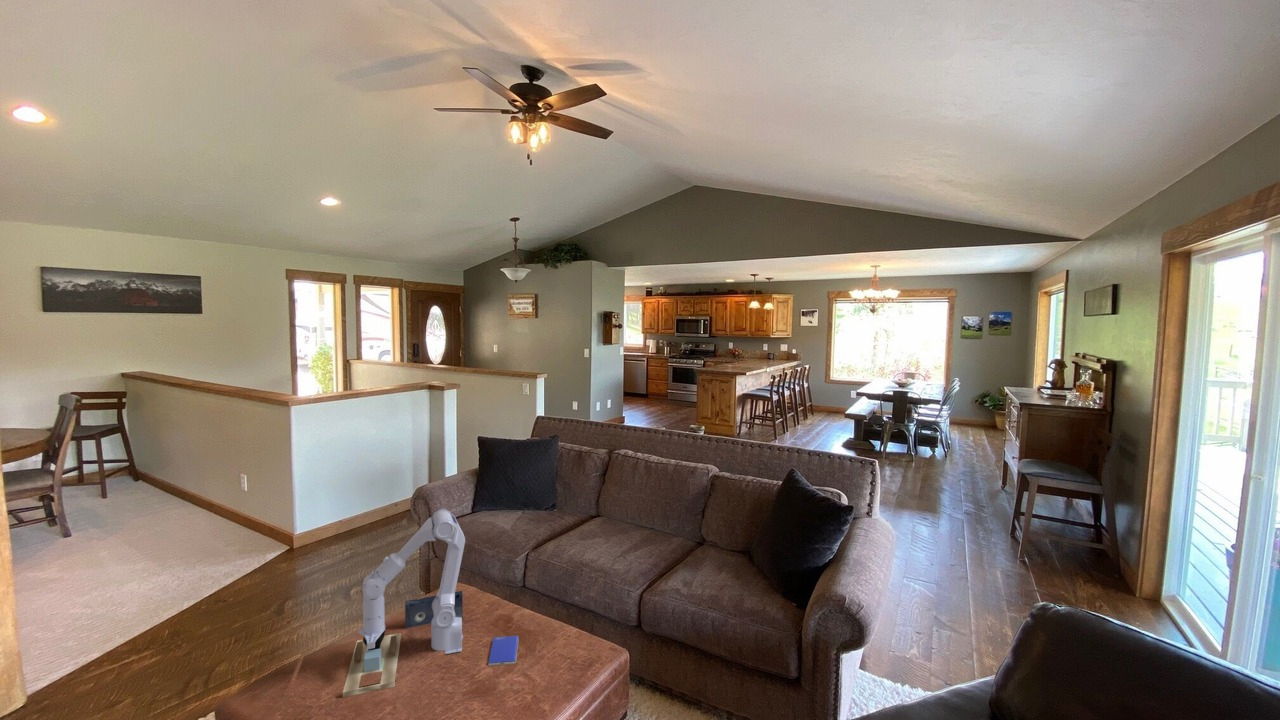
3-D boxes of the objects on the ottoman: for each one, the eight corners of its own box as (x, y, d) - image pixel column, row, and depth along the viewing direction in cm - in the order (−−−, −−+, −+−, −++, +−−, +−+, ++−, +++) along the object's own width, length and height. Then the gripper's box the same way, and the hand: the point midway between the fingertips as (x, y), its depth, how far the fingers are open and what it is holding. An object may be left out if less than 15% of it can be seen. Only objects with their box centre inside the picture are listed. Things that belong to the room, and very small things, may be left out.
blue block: (381, 660, 154) (381, 648, 154) (379, 669, 151) (379, 656, 150) (366, 663, 153) (366, 650, 152) (364, 672, 149) (363, 659, 149)
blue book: (493, 637, 168) (488, 662, 156) (518, 635, 169) (515, 660, 157) (493, 641, 168) (488, 667, 156) (518, 639, 169) (515, 665, 157)
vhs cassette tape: (462, 617, 180) (462, 590, 180) (462, 621, 178) (462, 594, 177) (405, 628, 173) (404, 600, 172) (405, 633, 170) (404, 604, 170)
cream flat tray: (401, 637, 168) (401, 624, 168) (394, 686, 146) (394, 671, 145) (357, 644, 164) (356, 631, 163) (342, 697, 141) (342, 682, 141)
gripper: (362, 603, 159) (363, 644, 160) (354, 630, 145) (355, 675, 146) (387, 599, 161) (388, 640, 162) (382, 626, 148) (382, 670, 149)
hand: (374, 656), depth 154 cm, fingers closed
